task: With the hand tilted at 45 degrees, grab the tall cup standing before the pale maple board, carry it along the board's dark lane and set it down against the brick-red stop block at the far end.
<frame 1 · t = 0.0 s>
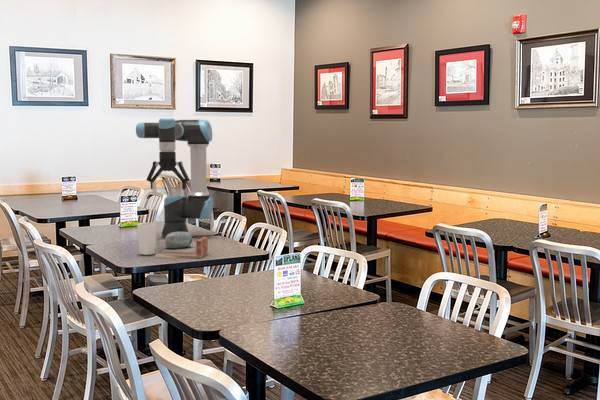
hand: (168, 196, 309), 28 cm above the table, fingers open, 13 cm apart
cup: (147, 255, 312), on the table
grey stone: (178, 248, 330), on the table
board: (181, 255, 310), on the table
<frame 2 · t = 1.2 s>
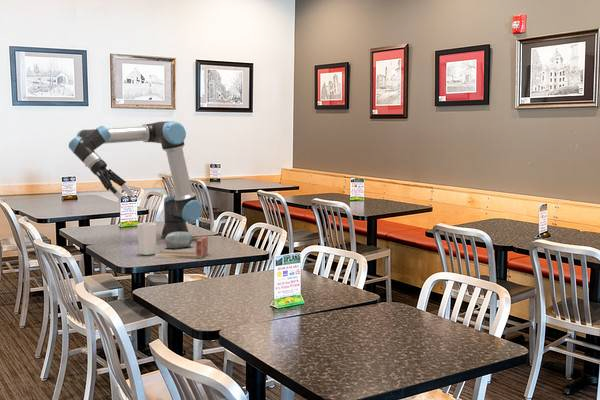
hand: (126, 196, 310), 28 cm above the table, fingers open, 13 cm apart
nothing on the table moved.
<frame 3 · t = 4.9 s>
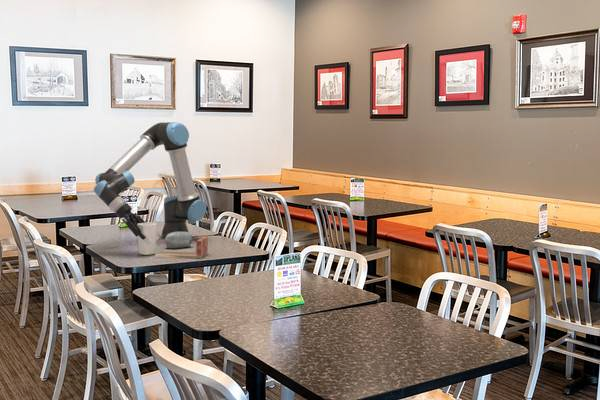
hand: (153, 241, 311), 6 cm above the table, fingers closed on cup, 9 cm apart
cup: (147, 254, 312), on the table, touching gripper
everything else where it was.
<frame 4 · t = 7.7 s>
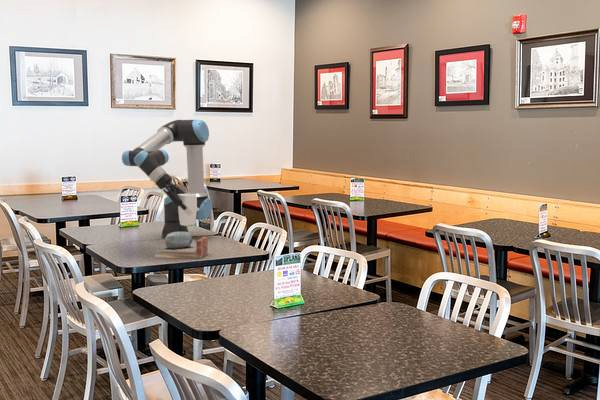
hand: (194, 212, 306), 21 cm above the table, fingers closed on cup, 9 cm apart
cup: (187, 226, 307), point 14 cm above the table, touching gripper
everything else where it was.
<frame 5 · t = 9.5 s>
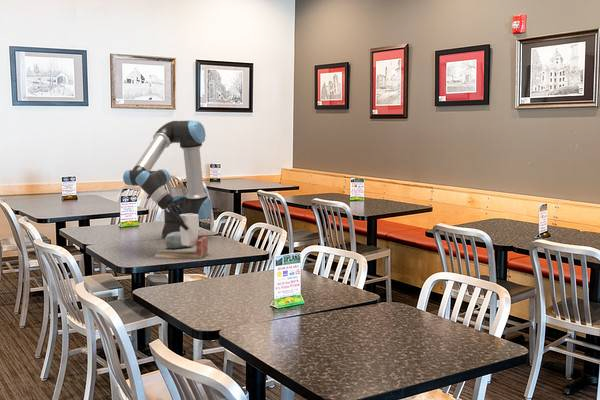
hand: (195, 232, 307), 11 cm above the table, fingers closed on cup, 9 cm apart
cup: (189, 246, 308), point 5 cm above the table, touching gripper
everything else where it was.
when the fingers open (9 cm above the table, at t = 10.5 s): cup drops 1 cm, resting on board.
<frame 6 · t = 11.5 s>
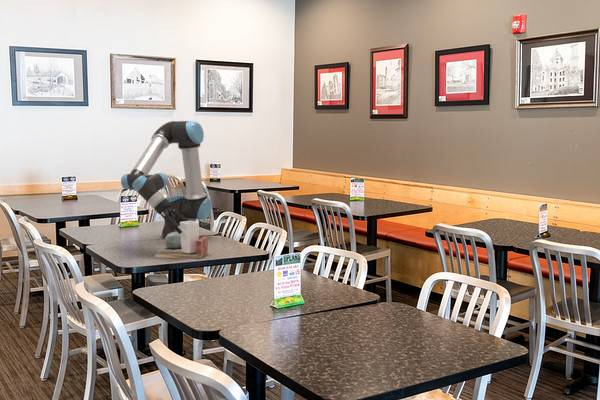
hand: (190, 235, 308), 10 cm above the table, fingers open, 13 cm apart
cup: (189, 253, 309), point 1 cm above the table, touching board
everything else where it was.
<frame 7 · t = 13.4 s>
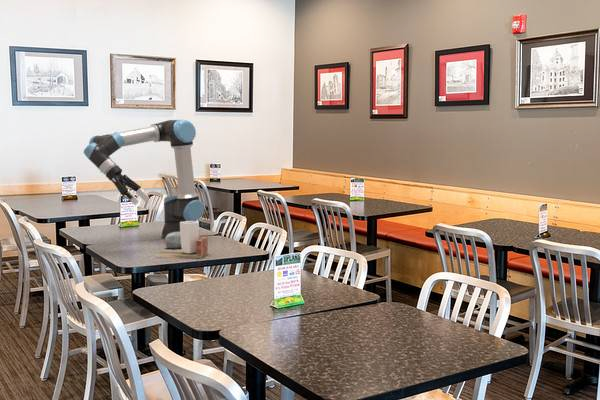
hand: (142, 201, 313), 25 cm above the table, fingers open, 13 cm apart
nothing on the table moved.
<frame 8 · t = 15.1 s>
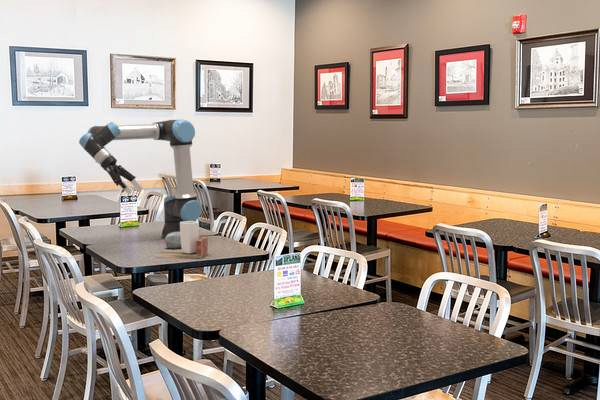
hand: (136, 191, 314), 30 cm above the table, fingers open, 13 cm apart
nothing on the table moved.
at the end: cup inside the target area (0.4 cm from its centre), point 1.0 cm above the table; cup tilted 0°; the gripper is holding nothing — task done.
